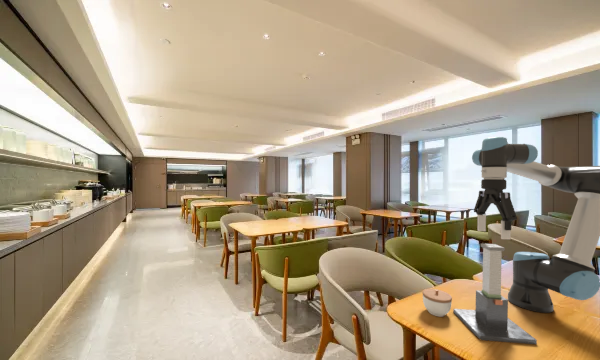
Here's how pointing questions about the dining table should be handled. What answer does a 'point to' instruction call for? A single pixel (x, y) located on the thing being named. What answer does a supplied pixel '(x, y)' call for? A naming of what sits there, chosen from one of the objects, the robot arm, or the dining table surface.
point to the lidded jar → (437, 302)
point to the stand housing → (493, 321)
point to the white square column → (492, 270)
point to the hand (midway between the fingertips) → (492, 234)
